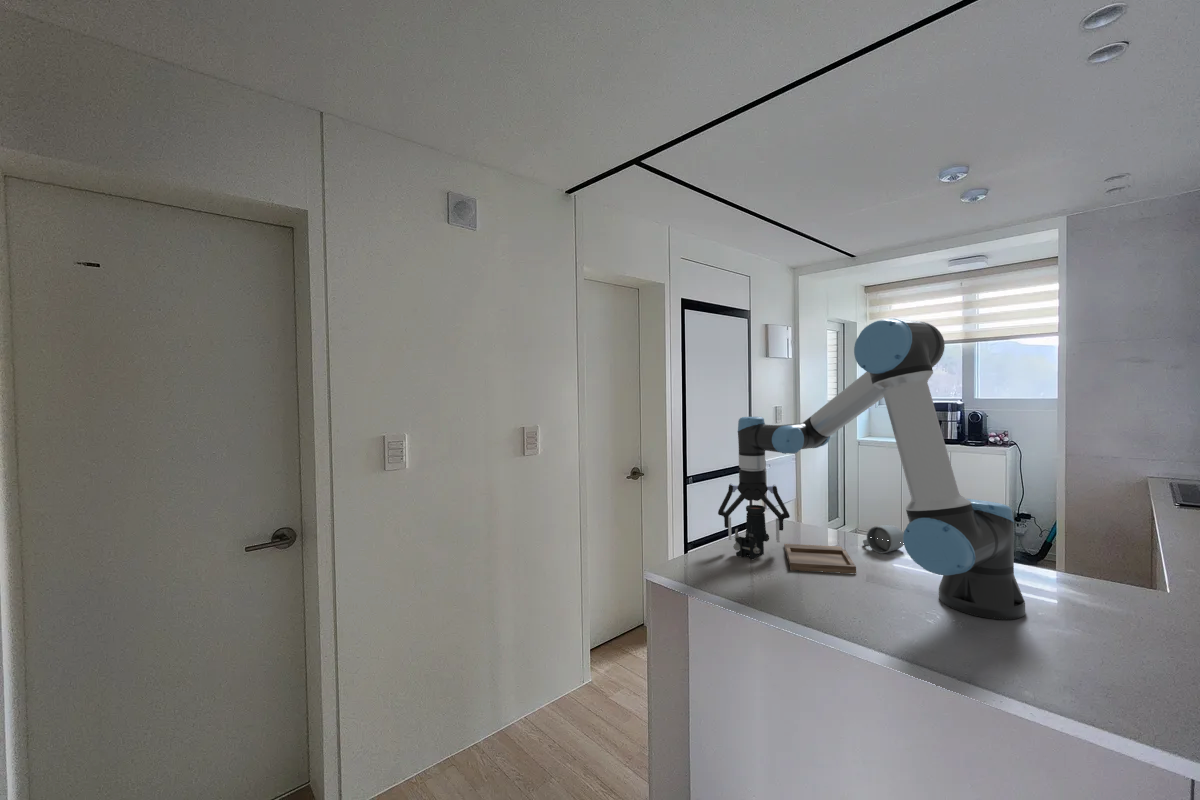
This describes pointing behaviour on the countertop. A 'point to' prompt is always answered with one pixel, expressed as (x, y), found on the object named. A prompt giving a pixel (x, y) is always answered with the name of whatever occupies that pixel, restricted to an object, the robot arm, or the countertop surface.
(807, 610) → the countertop surface
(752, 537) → the scope
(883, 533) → the ceramic mug
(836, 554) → the wooden tray
